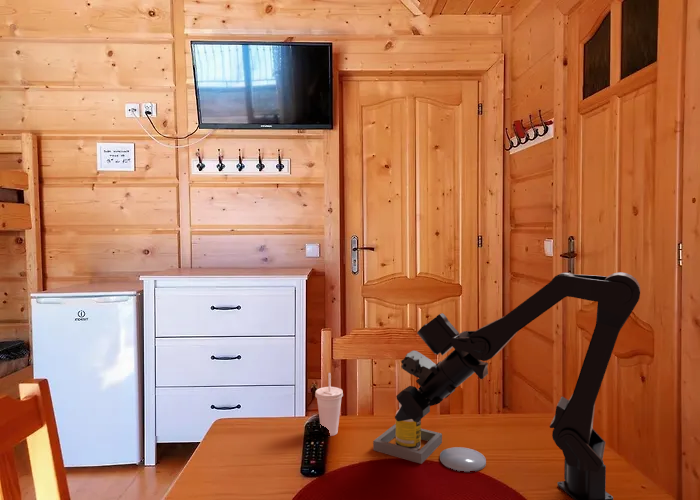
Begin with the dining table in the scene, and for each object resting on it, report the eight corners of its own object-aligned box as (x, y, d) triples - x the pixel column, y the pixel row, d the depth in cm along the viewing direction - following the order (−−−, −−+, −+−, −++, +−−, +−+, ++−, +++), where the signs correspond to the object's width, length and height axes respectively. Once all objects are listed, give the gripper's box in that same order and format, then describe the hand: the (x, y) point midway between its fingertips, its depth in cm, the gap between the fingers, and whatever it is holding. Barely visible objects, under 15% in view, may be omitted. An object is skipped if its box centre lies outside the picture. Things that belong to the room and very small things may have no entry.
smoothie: (318, 440, 102) (318, 377, 102) (313, 428, 109) (312, 369, 108) (346, 436, 104) (346, 375, 104) (339, 425, 110) (339, 367, 110)
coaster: (494, 469, 89) (494, 466, 89) (450, 474, 87) (450, 471, 87) (473, 448, 98) (473, 445, 98) (433, 452, 96) (433, 449, 96)
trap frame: (442, 442, 101) (442, 433, 101) (421, 463, 91) (421, 454, 91) (396, 431, 107) (396, 422, 107) (373, 450, 97) (373, 440, 97)
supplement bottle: (420, 453, 96) (420, 406, 96) (394, 451, 97) (394, 405, 97) (421, 441, 101) (421, 397, 101) (396, 439, 102) (396, 396, 102)
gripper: (441, 332, 104) (398, 373, 110) (405, 350, 88) (357, 397, 95) (476, 372, 100) (428, 412, 106) (444, 399, 84) (391, 443, 91)
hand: (402, 414), depth 100 cm, fingers closed on supplement bottle, 5 cm apart
